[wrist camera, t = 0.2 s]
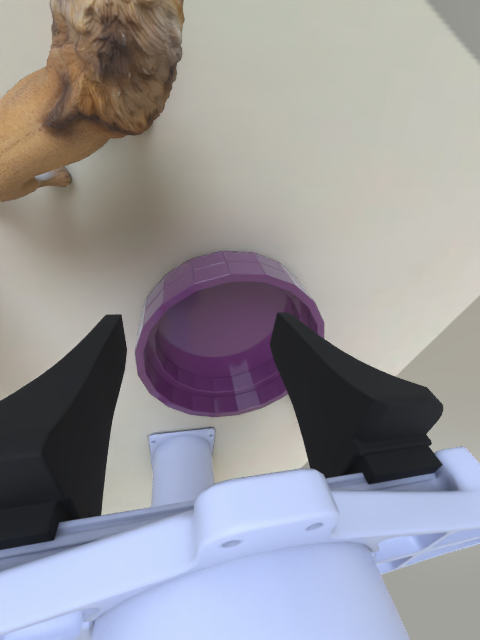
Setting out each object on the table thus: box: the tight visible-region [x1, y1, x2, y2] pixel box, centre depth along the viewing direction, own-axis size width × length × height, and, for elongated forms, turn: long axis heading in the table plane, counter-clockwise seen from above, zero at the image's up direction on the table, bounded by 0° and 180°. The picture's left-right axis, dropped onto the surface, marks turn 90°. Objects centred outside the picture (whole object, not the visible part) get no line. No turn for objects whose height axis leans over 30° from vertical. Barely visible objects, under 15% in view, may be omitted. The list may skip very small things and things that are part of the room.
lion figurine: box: [0, 0, 184, 202], centre depth 12 cm, size 15×5×9 cm, turn 125°
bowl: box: [135, 251, 324, 417], centre depth 24 cm, size 15×15×4 cm
